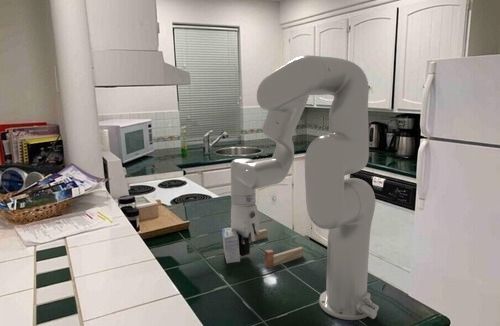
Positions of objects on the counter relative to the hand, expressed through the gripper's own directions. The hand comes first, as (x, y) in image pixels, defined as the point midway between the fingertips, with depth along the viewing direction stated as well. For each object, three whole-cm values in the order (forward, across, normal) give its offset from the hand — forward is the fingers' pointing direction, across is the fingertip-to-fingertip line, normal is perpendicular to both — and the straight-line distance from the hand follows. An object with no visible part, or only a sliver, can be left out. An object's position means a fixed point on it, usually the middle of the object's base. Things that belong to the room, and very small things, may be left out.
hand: (244, 254), depth 116 cm
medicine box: (+1, +2, +4) cm, 4 cm away
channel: (+1, 0, -10) cm, 10 cm away
